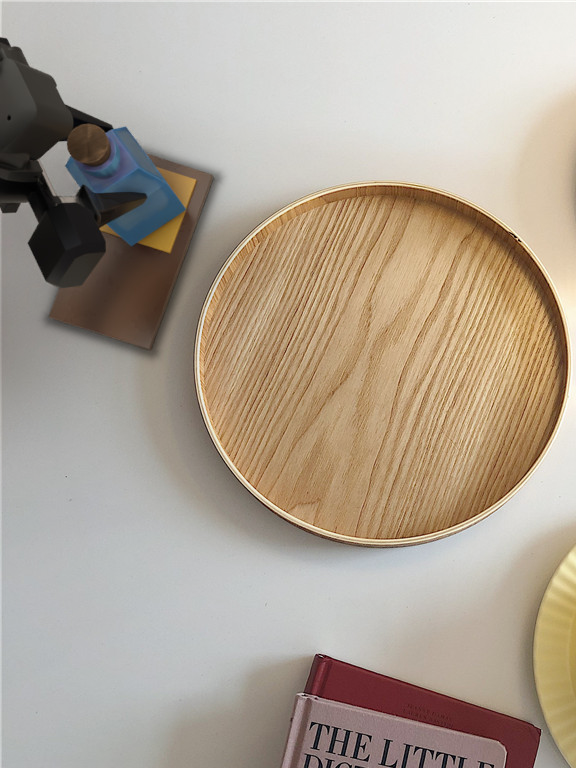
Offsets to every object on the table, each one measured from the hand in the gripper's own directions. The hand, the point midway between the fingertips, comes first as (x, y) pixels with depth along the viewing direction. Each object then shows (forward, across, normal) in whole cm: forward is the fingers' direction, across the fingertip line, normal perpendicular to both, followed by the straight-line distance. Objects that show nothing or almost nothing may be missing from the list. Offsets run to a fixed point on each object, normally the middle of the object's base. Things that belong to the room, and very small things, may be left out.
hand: (128, 164), depth 59 cm
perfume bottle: (+4, 0, +6) cm, 7 cm away
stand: (+3, -3, +9) cm, 10 cm away
